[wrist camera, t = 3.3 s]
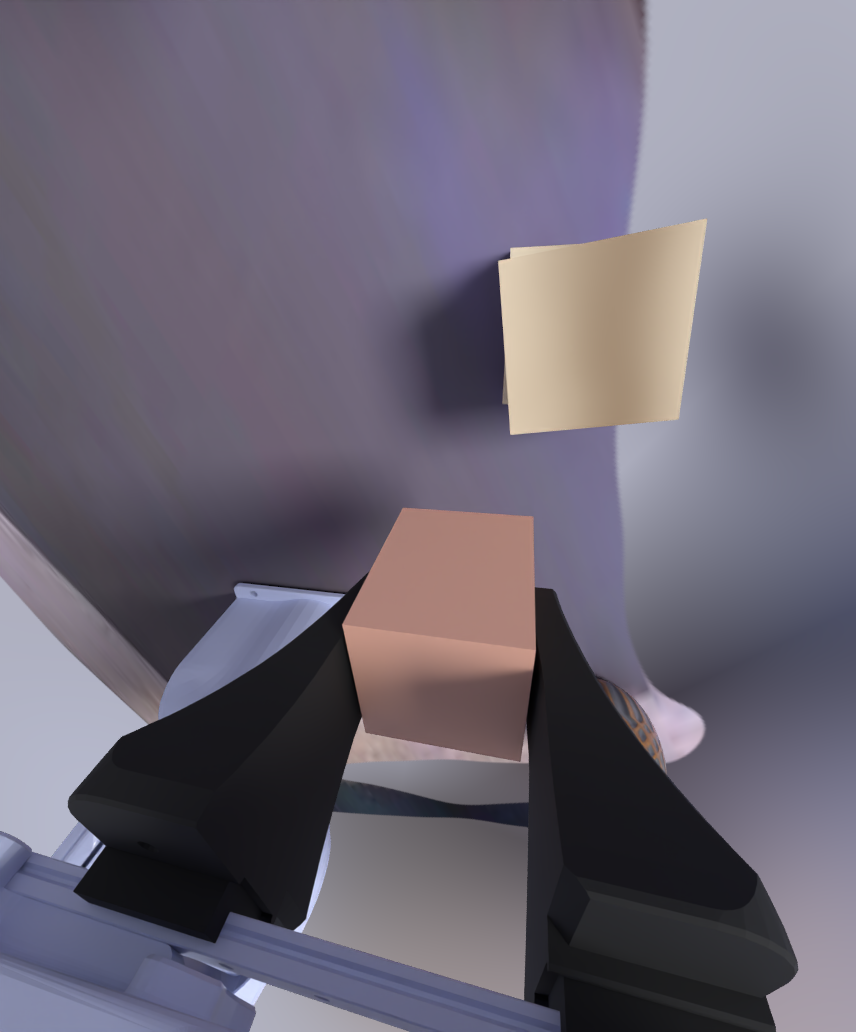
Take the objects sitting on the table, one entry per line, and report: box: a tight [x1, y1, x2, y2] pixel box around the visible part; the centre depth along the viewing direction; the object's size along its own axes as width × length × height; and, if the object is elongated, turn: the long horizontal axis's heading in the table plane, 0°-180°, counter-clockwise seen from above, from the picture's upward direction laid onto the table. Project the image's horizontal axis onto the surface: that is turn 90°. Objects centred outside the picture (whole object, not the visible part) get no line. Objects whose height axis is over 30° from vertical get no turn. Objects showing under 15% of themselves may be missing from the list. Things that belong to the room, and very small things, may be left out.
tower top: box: [498, 219, 707, 435], centre depth 13 cm, size 5×5×2 cm
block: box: [342, 508, 536, 762], centre depth 11 cm, size 4×4×5 cm
